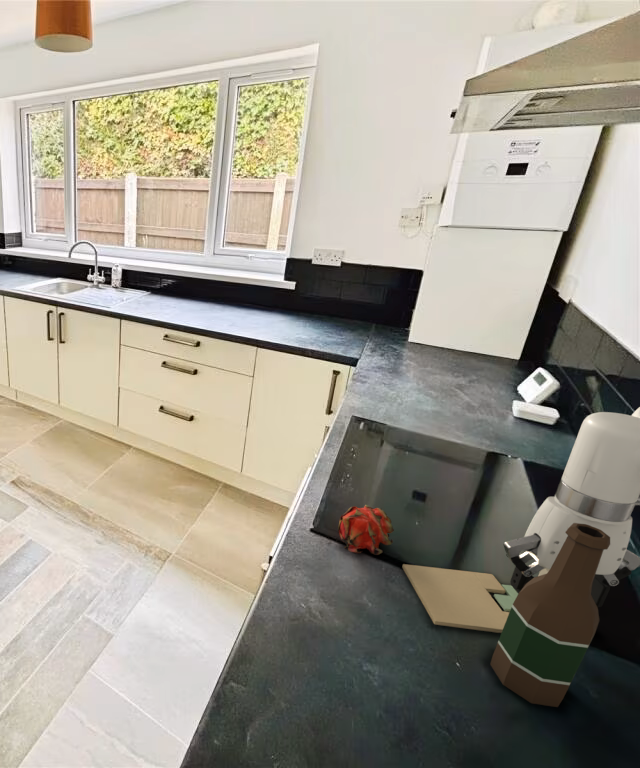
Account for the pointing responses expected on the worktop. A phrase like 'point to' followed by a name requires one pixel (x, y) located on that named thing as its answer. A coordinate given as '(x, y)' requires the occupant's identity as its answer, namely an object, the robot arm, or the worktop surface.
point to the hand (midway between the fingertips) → (553, 595)
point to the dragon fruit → (365, 529)
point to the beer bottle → (552, 622)
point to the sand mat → (458, 597)
